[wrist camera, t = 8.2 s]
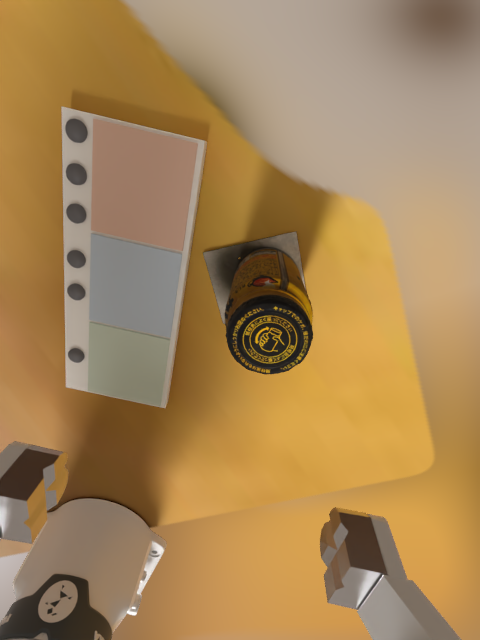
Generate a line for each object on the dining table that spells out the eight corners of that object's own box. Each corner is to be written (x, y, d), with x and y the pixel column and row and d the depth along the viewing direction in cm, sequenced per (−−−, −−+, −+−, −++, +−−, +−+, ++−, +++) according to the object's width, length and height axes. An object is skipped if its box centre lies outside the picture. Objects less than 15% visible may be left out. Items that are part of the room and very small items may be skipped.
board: (168, 401, 37) (164, 410, 35) (71, 380, 36) (64, 388, 35) (207, 142, 26) (204, 140, 24) (70, 109, 25) (59, 105, 24)
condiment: (308, 306, 31) (333, 379, 20) (223, 323, 32) (203, 399, 21) (296, 230, 28) (316, 267, 17) (203, 251, 30) (168, 298, 19)
